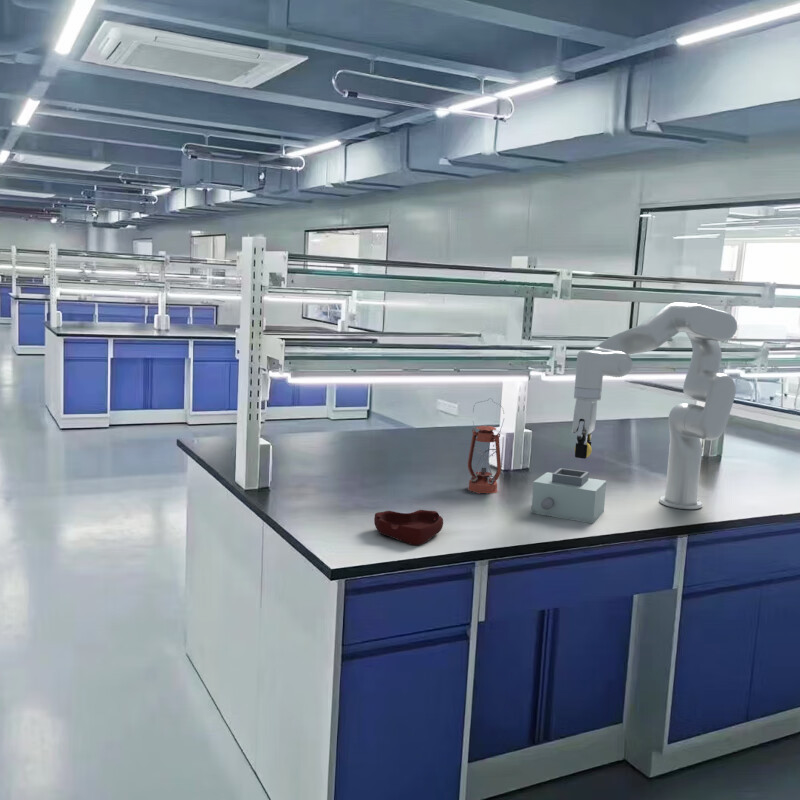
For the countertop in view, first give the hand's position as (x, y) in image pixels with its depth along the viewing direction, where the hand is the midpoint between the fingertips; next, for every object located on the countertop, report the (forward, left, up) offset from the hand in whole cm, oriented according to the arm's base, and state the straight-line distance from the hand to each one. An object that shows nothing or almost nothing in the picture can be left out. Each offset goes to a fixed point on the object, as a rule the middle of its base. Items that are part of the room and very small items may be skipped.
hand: (582, 455), depth 225 cm
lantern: (-10, -33, -18) cm, 39 cm away
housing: (+1, -3, -18) cm, 18 cm away
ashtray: (+45, -33, -18) cm, 58 cm away
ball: (0, 0, +2) cm, 2 cm away
